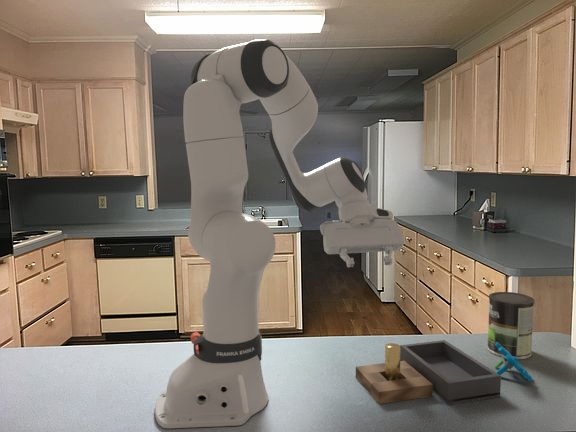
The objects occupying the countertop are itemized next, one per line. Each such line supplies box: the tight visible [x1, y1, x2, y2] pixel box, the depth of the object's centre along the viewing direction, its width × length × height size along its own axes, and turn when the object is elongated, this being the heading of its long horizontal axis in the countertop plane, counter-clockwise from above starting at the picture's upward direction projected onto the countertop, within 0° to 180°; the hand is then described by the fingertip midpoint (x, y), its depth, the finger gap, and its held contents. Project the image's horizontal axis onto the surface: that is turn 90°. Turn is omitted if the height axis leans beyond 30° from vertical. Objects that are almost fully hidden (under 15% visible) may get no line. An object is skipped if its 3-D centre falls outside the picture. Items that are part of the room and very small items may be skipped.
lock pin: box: [384, 342, 401, 381], centre depth 97 cm, size 3×3×9 cm
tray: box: [399, 339, 502, 406], centre depth 100 cm, size 12×20×4 cm, turn 14°
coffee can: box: [487, 291, 535, 360], centre depth 114 cm, size 10×10×14 cm
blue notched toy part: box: [494, 342, 533, 382], centre depth 101 cm, size 11×6×10 cm
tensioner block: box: [355, 361, 434, 405], centre depth 97 cm, size 12×12×2 cm
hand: (370, 265), depth 109 cm, fingers open, 8 cm apart
